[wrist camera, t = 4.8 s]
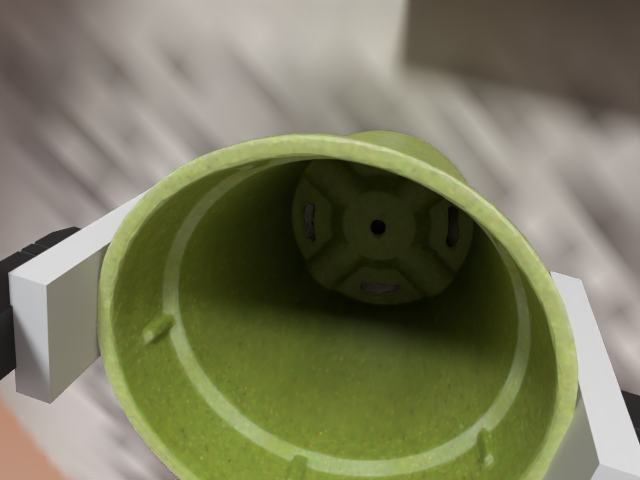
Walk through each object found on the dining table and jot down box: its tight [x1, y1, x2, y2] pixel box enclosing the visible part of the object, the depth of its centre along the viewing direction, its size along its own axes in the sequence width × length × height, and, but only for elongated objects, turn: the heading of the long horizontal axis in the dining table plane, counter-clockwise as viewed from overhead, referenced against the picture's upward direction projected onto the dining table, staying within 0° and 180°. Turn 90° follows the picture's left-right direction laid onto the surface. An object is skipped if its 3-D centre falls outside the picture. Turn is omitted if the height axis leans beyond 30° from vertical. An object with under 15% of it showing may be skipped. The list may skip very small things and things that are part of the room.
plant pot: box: [96, 130, 578, 480], centre depth 15 cm, size 9×9×9 cm
